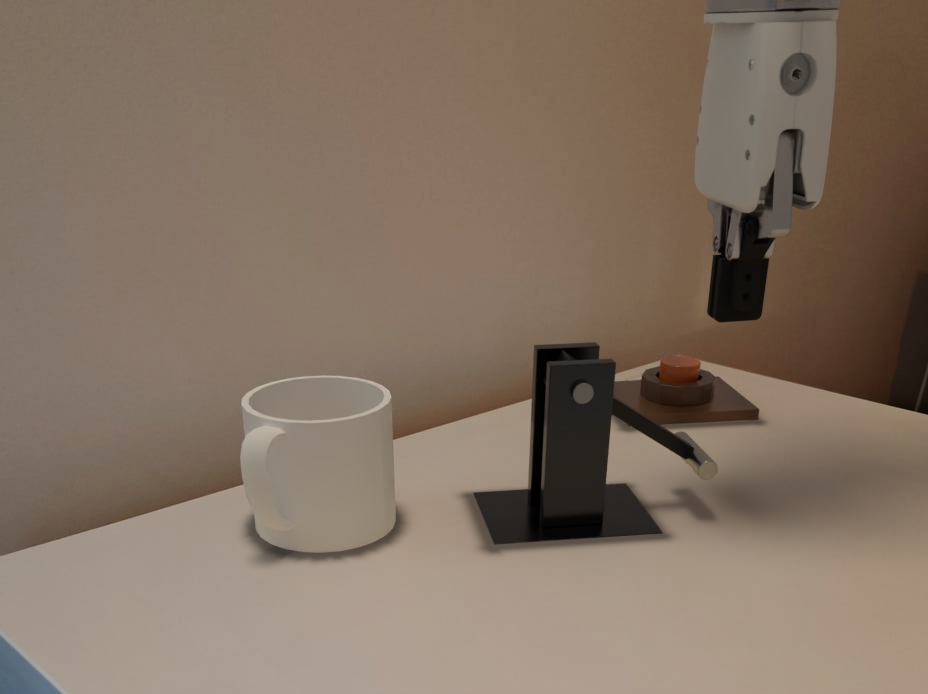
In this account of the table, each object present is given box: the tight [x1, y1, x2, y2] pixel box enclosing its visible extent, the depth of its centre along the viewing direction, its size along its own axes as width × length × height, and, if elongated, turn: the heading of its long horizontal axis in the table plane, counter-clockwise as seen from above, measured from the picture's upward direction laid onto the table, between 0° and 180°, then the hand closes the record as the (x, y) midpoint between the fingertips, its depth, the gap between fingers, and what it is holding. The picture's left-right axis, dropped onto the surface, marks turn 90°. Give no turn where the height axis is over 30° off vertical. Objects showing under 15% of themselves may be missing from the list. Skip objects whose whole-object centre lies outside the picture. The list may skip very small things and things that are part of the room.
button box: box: [613, 365, 760, 427], centre depth 93 cm, size 12×10×4 cm
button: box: [659, 355, 702, 383], centre depth 91 cm, size 4×4×2 cm
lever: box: [543, 350, 719, 481], centre depth 70 cm, size 13×6×2 cm
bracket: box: [472, 341, 664, 546], centre depth 70 cm, size 12×9×13 cm
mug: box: [239, 374, 397, 554], centre depth 69 cm, size 13×10×10 cm
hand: (733, 317), depth 67 cm, fingers closed
